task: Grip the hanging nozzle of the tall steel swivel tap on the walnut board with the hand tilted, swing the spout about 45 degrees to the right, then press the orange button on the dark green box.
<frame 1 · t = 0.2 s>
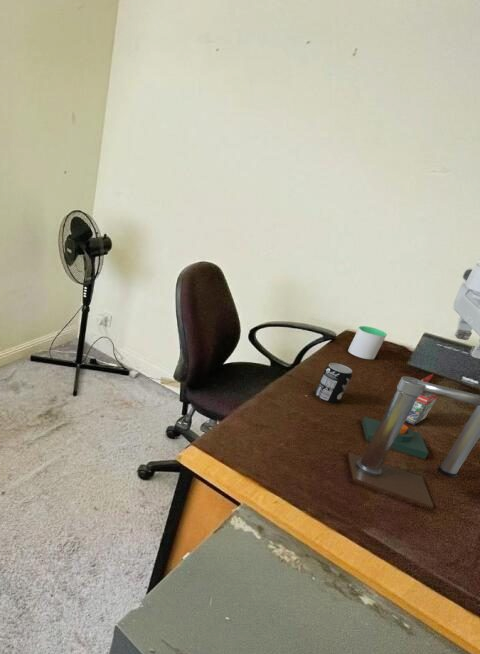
hand: (468, 347, 83), 41 cm above the table, tool pointing down, fingers open, 8 cm apart
beverage can: (325, 398, 135), on the table
spout: (428, 426, 95), point 19 cm above the table, hinge at 0.0°
mug: (362, 353, 163), on the table
ink box: (411, 418, 126), on the table
slanted pole stand: (385, 482, 103), on the table
button: (397, 427, 115), point 4 cm above the table, slide at 0.1 cm
button box: (391, 439, 117), on the table
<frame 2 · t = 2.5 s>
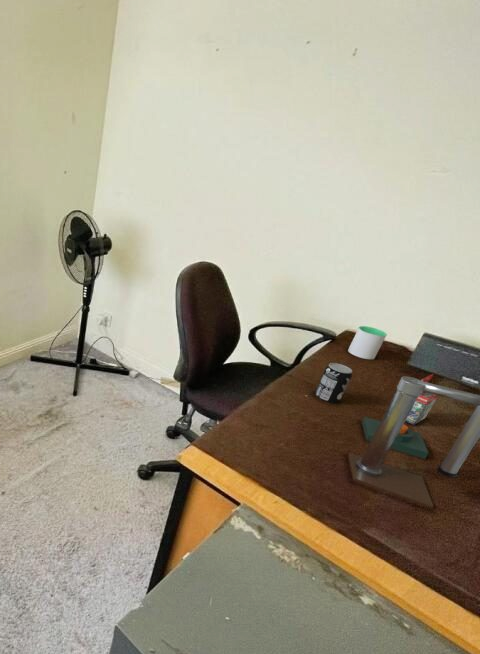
nothing on the table moved.
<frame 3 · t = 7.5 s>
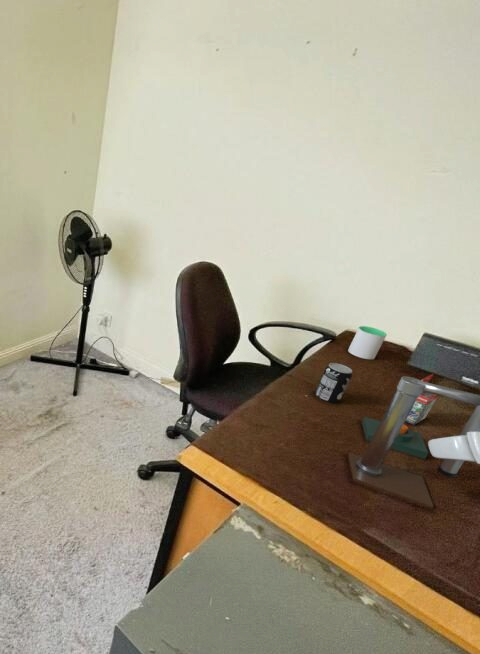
hand: (454, 453, 94), 13 cm above the table, tool tilted 45°, fingers closed on spout, 2 cm apart
spout: (428, 426, 95), point 19 cm above the table, hinge at 0.1°, touching gripper
everything else where it was.
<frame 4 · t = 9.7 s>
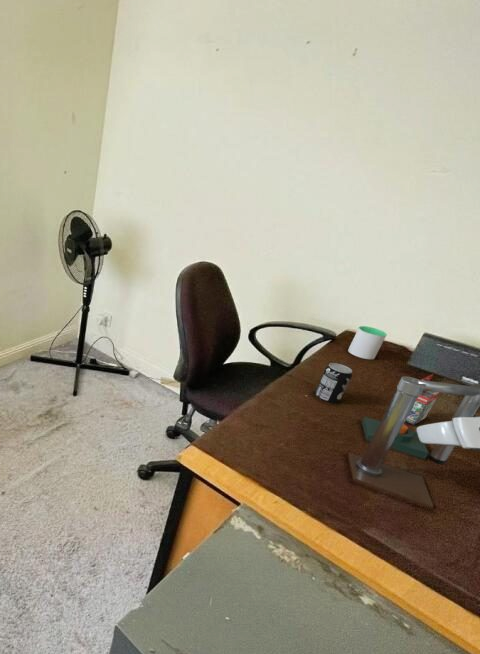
hand: (441, 439, 98), 13 cm above the table, tool tilted 45°, fingers closed on spout, 2 cm apart
spout: (424, 421, 96), point 19 cm above the table, hinge at 21.3°, touching gripper
everything else where it was.
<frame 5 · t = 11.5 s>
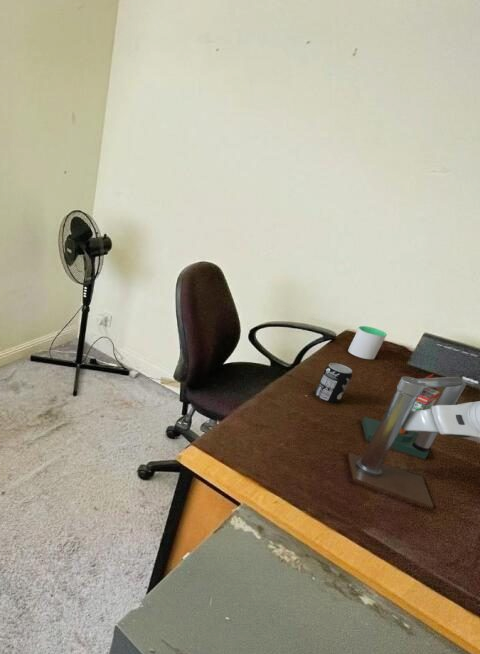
hand: (423, 427, 102), 13 cm above the table, tool tilted 45°, fingers open, 3 cm apart
spout: (416, 415, 98), point 19 cm above the table, hinge at 41.3°
everything else where it was.
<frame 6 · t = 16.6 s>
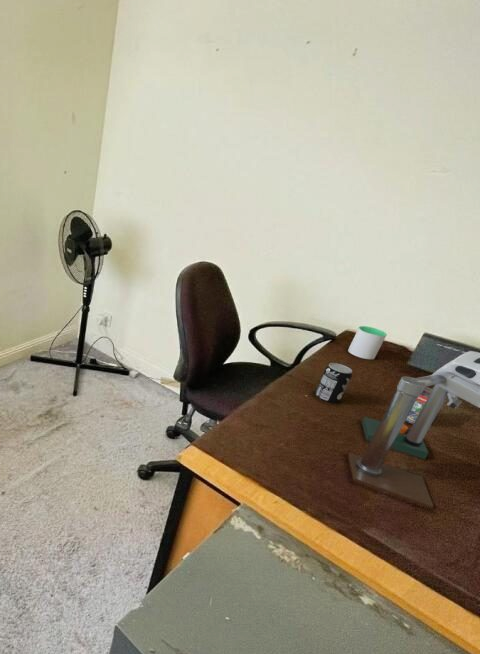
hand: (475, 418, 95), 20 cm above the table, tool tilted 20°, fingers open, 7 cm apart
spout: (412, 413, 99), point 19 cm above the table, hinge at 50.2°
everything else where it was.
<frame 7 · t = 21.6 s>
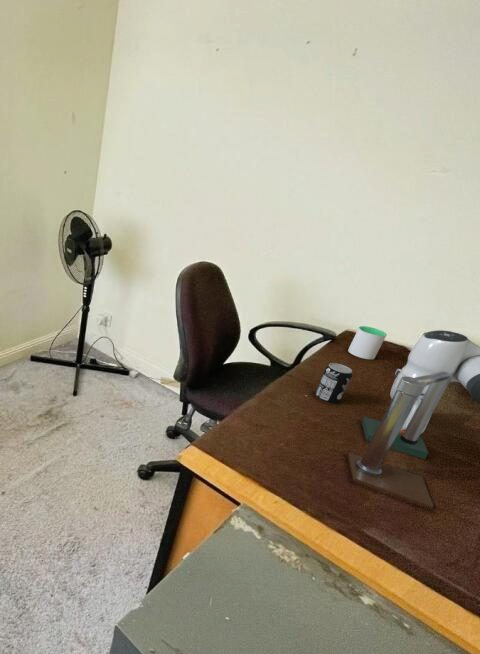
hand: (397, 427, 116), 4 cm above the table, tool pointing down, fingers closed, pressing on button
spout: (410, 412, 99), point 19 cm above the table, hinge at 54.1°
button: (396, 430, 116), point 4 cm above the table, slide at -0.8 cm, touching gripper
everything else where it was.
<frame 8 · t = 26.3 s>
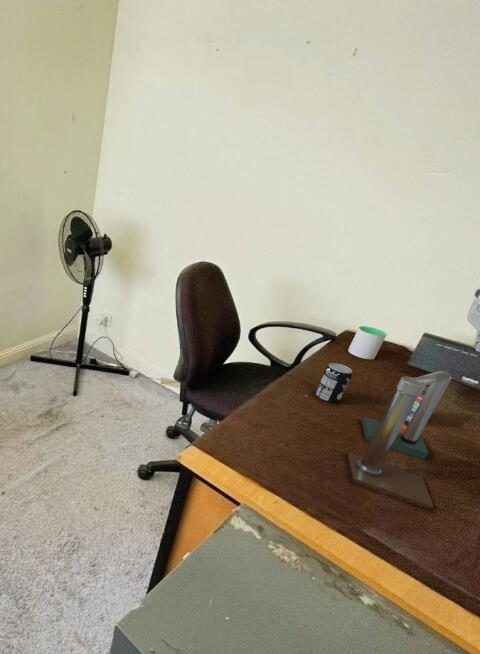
hand: (478, 349, 107), 29 cm above the table, tool pointing down, fingers closed
button: (397, 427, 115), point 4 cm above the table, slide at 0.1 cm
everything else where it was.
at the end: spout at +54° (first picture: +0°); button pushed in 1.1 cm at the most during the clip, back to where it started at the end; button slide at 0.1 cm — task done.
